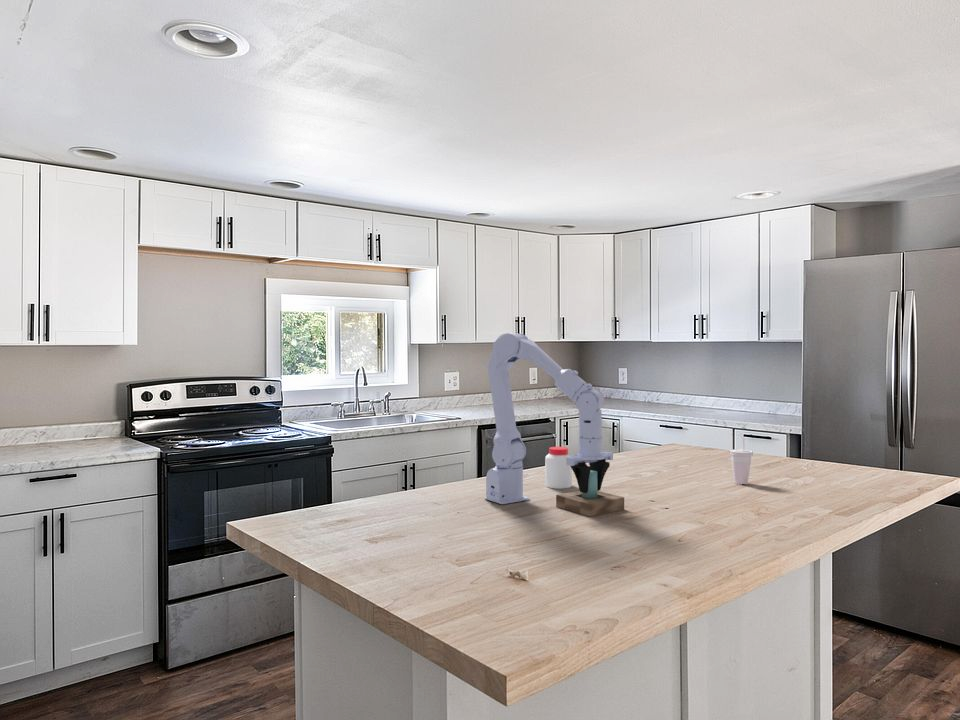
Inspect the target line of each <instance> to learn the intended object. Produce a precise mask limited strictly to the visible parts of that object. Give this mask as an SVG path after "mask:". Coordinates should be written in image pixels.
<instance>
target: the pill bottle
mask: <svg viewBox="0 0 960 720" xmlns="http://www.w3.org/2000/svg"><path fill="white" fill-rule="evenodd" d="M570 456H571V455H570V454H569V448H568V447H565V446H551V447H549V448H548V454H546V455H545V457H544V458H545V459H544V462H545V464H544V486H545V487H546V488H551V489H561V490H562V489H571V488H572V486H573V473H572V472H573V470H572V468H571V466H570V465H566V457H570Z"/></svg>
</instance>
